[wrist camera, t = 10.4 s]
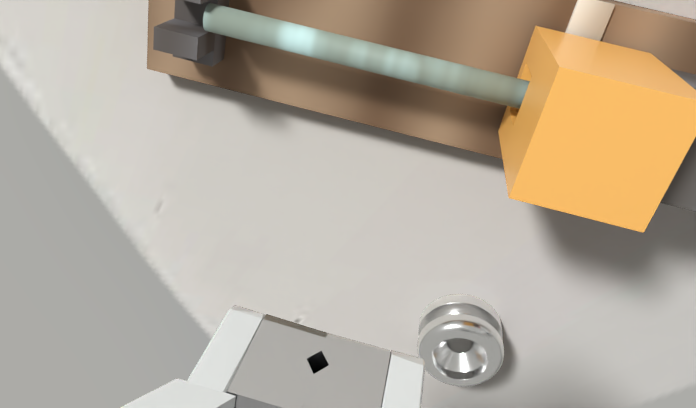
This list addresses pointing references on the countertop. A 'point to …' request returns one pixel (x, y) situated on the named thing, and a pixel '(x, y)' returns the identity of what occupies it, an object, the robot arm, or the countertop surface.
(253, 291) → the countertop surface
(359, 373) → the robot arm
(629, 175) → the orange slider block
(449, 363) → the clear spool
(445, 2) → the slider rail board
